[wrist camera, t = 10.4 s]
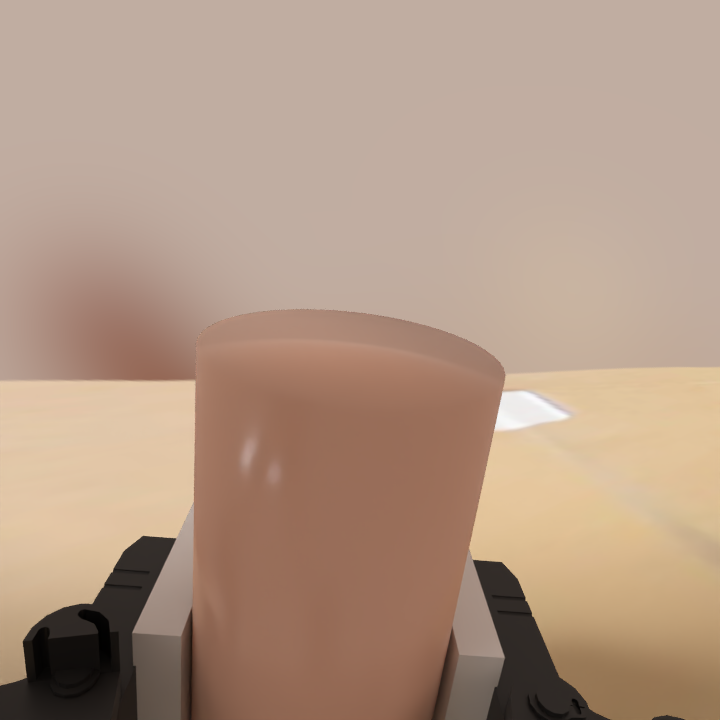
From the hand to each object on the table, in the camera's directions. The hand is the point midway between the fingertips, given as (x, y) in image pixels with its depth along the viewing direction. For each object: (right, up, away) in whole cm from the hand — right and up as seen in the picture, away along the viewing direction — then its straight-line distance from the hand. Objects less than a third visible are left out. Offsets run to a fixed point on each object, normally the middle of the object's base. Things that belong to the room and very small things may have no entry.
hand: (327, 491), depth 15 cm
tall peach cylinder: (-1, -9, -3) cm, 10 cm away
